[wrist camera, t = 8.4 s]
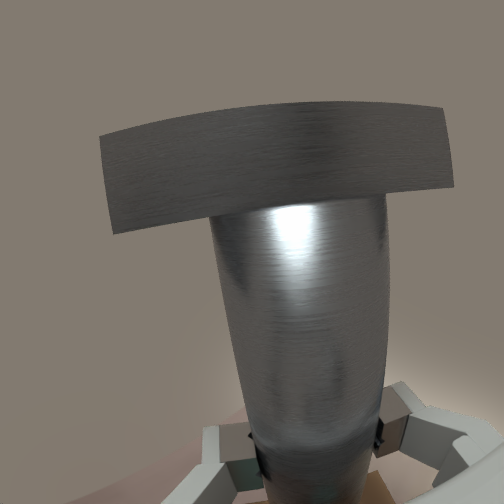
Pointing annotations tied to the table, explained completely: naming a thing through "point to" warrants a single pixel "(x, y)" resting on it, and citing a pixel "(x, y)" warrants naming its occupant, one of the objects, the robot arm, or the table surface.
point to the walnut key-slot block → (369, 491)
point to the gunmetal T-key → (292, 260)
